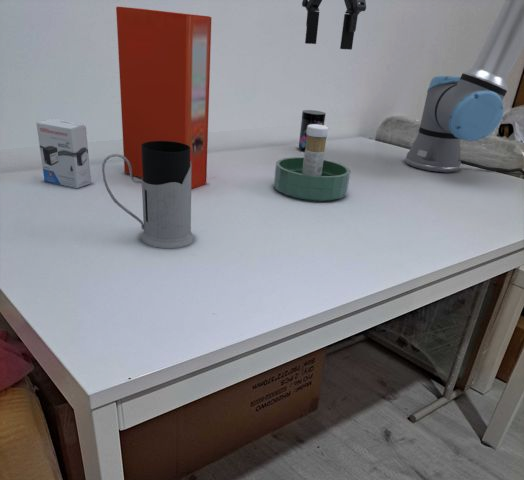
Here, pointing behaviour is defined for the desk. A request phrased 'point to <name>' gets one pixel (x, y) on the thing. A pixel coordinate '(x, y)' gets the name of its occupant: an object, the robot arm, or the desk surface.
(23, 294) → the desk surface
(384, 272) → the desk surface
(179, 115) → the file binder
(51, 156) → the ink box
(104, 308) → the desk surface
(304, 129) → the supplement container
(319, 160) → the sprinkles bottle
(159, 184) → the glass holder
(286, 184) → the bowl
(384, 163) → the desk surface
